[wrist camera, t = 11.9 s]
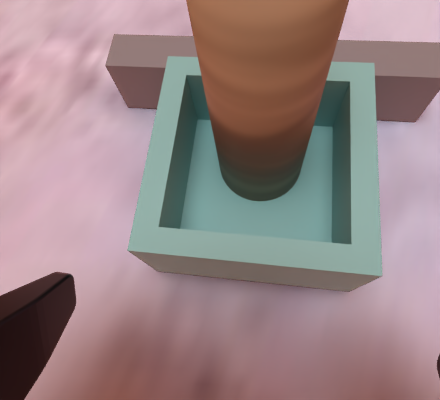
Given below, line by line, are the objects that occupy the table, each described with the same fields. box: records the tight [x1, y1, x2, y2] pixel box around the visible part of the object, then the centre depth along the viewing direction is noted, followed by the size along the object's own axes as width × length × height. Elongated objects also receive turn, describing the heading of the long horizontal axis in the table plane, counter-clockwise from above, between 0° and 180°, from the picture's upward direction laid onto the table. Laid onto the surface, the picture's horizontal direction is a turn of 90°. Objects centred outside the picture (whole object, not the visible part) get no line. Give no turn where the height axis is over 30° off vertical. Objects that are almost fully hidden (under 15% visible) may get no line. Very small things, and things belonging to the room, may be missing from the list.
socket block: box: [127, 56, 382, 292], centre depth 16 cm, size 9×9×4 cm
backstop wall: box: [105, 34, 440, 122], centre depth 19 cm, size 2×16×4 cm, turn 84°
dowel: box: [186, 0, 349, 201], centre depth 12 cm, size 4×4×12 cm
